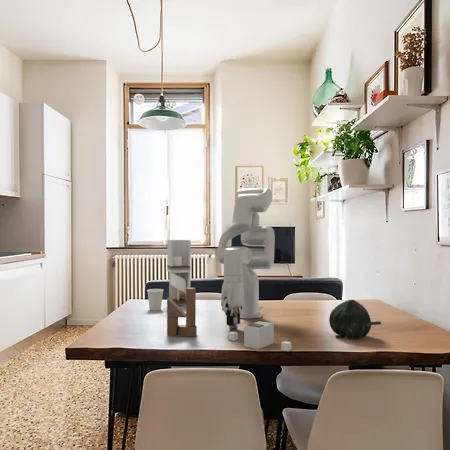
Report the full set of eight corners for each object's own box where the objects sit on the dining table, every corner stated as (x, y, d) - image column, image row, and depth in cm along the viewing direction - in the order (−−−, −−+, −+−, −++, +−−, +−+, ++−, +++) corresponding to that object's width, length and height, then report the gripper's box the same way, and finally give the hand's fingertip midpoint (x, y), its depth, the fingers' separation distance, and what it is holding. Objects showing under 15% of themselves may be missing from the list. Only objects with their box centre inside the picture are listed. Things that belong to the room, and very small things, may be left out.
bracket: (360, 318, 194) (359, 312, 194) (381, 325, 180) (381, 319, 180) (332, 320, 189) (332, 314, 189) (352, 327, 175) (352, 321, 175)
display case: (167, 303, 232) (167, 240, 233) (185, 302, 236) (186, 239, 236) (170, 306, 222) (171, 240, 222) (190, 305, 225) (190, 240, 225)
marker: (285, 348, 141) (285, 341, 141) (291, 349, 139) (291, 342, 139) (281, 350, 139) (281, 342, 139) (287, 351, 137) (287, 343, 137)
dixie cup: (162, 311, 208) (162, 291, 208) (145, 311, 208) (145, 290, 208) (164, 308, 216) (164, 288, 217) (148, 308, 217) (148, 288, 217)
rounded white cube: (232, 338, 154) (232, 331, 154) (237, 339, 153) (237, 332, 153) (228, 339, 152) (228, 332, 152) (233, 340, 151) (233, 333, 151)
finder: (259, 340, 152) (259, 320, 152) (273, 343, 148) (273, 322, 148) (244, 346, 144) (244, 324, 144) (259, 349, 140) (259, 327, 140)
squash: (342, 315, 170) (332, 290, 162) (379, 322, 160) (371, 295, 153) (330, 344, 162) (319, 319, 154) (368, 352, 152) (359, 326, 144)
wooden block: (169, 334, 161) (169, 287, 161) (196, 334, 160) (196, 287, 160) (166, 336, 157) (167, 288, 158) (194, 337, 156) (195, 288, 156)
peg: (232, 326, 171) (232, 304, 171) (239, 328, 168) (239, 305, 168) (227, 328, 168) (227, 306, 168) (234, 330, 166) (234, 307, 166)
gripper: (237, 276, 177) (237, 319, 177) (212, 280, 164) (213, 327, 164) (252, 277, 172) (252, 321, 172) (228, 281, 159) (228, 330, 159)
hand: (233, 324), depth 168 cm, fingers closed on peg, 3 cm apart
